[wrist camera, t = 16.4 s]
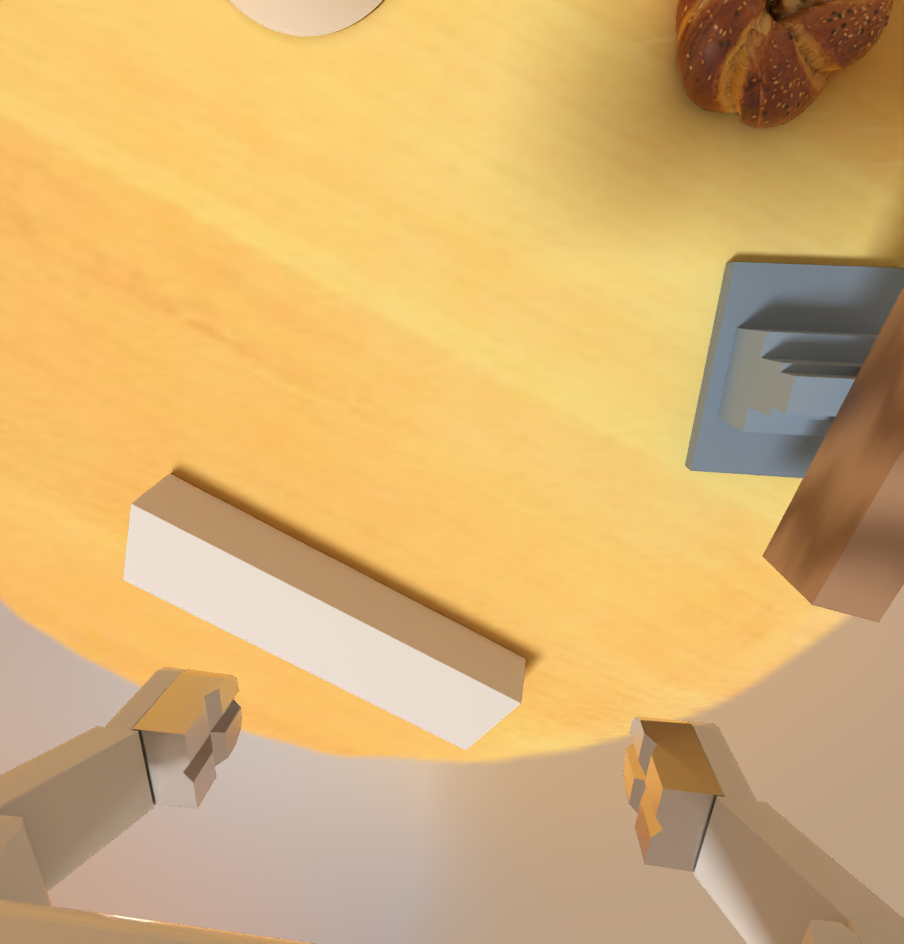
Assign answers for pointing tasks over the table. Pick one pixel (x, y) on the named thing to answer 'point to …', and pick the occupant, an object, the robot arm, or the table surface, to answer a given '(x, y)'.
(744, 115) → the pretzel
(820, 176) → the table surface
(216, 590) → the beige long block
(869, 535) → the walnut bar
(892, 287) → the gray stepped block
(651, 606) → the table surface
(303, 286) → the table surface
